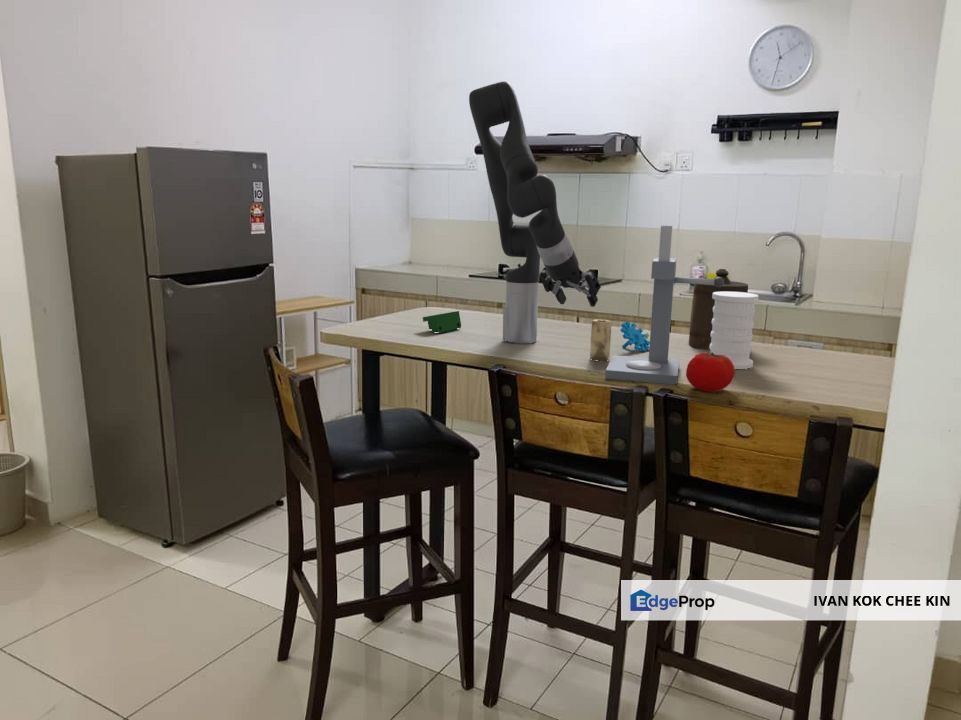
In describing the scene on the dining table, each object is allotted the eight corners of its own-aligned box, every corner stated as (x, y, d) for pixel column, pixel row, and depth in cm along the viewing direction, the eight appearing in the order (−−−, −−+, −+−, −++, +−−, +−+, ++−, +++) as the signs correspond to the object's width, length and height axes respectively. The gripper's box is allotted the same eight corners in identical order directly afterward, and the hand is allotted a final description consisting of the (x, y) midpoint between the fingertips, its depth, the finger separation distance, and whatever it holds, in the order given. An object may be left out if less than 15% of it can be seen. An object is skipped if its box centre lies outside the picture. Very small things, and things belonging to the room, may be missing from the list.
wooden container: (733, 341, 215) (740, 267, 210) (749, 352, 201) (757, 272, 196) (683, 340, 216) (689, 266, 211) (695, 350, 202) (701, 271, 197)
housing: (588, 360, 187) (590, 321, 185) (591, 356, 191) (593, 318, 189) (608, 362, 185) (610, 322, 183) (610, 358, 190) (612, 319, 188)
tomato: (678, 384, 165) (681, 348, 163) (723, 384, 165) (726, 348, 163) (693, 395, 155) (696, 357, 154) (740, 395, 156) (743, 357, 154)
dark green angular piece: (445, 342, 229) (448, 315, 231) (459, 340, 225) (462, 312, 227) (418, 332, 220) (422, 303, 222) (433, 329, 216) (436, 301, 218)
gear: (634, 348, 194) (618, 319, 199) (620, 361, 198) (604, 331, 202) (659, 349, 201) (642, 320, 206) (645, 361, 205) (629, 333, 209)
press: (605, 378, 169) (613, 225, 161) (613, 362, 184) (622, 222, 177) (716, 388, 162) (731, 228, 154) (715, 371, 178) (728, 225, 170)
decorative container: (699, 359, 191) (705, 290, 187) (743, 359, 191) (750, 291, 187) (712, 369, 180) (719, 297, 176) (759, 370, 179) (767, 297, 176)
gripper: (524, 263, 170) (547, 312, 180) (577, 265, 161) (598, 316, 172) (538, 242, 173) (560, 290, 184) (590, 242, 165) (610, 294, 175)
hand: (578, 303), depth 178 cm, fingers open, 8 cm apart
